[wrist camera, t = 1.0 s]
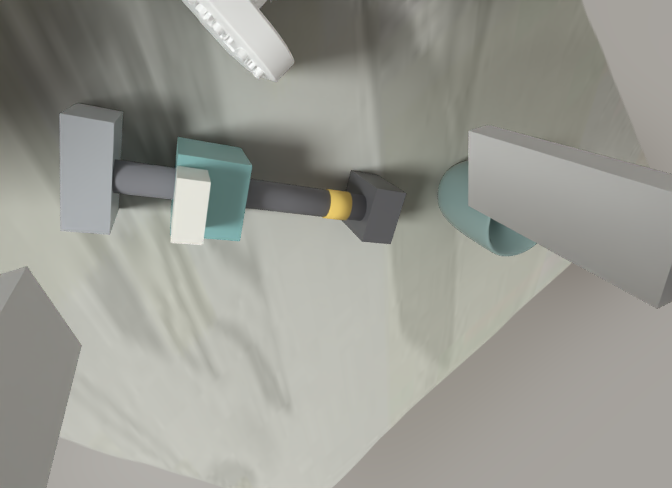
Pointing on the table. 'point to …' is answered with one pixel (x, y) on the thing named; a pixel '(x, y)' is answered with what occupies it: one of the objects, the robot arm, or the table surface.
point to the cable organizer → (245, 35)
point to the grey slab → (89, 168)
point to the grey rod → (260, 195)
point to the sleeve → (208, 192)
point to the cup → (476, 216)
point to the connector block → (375, 207)
